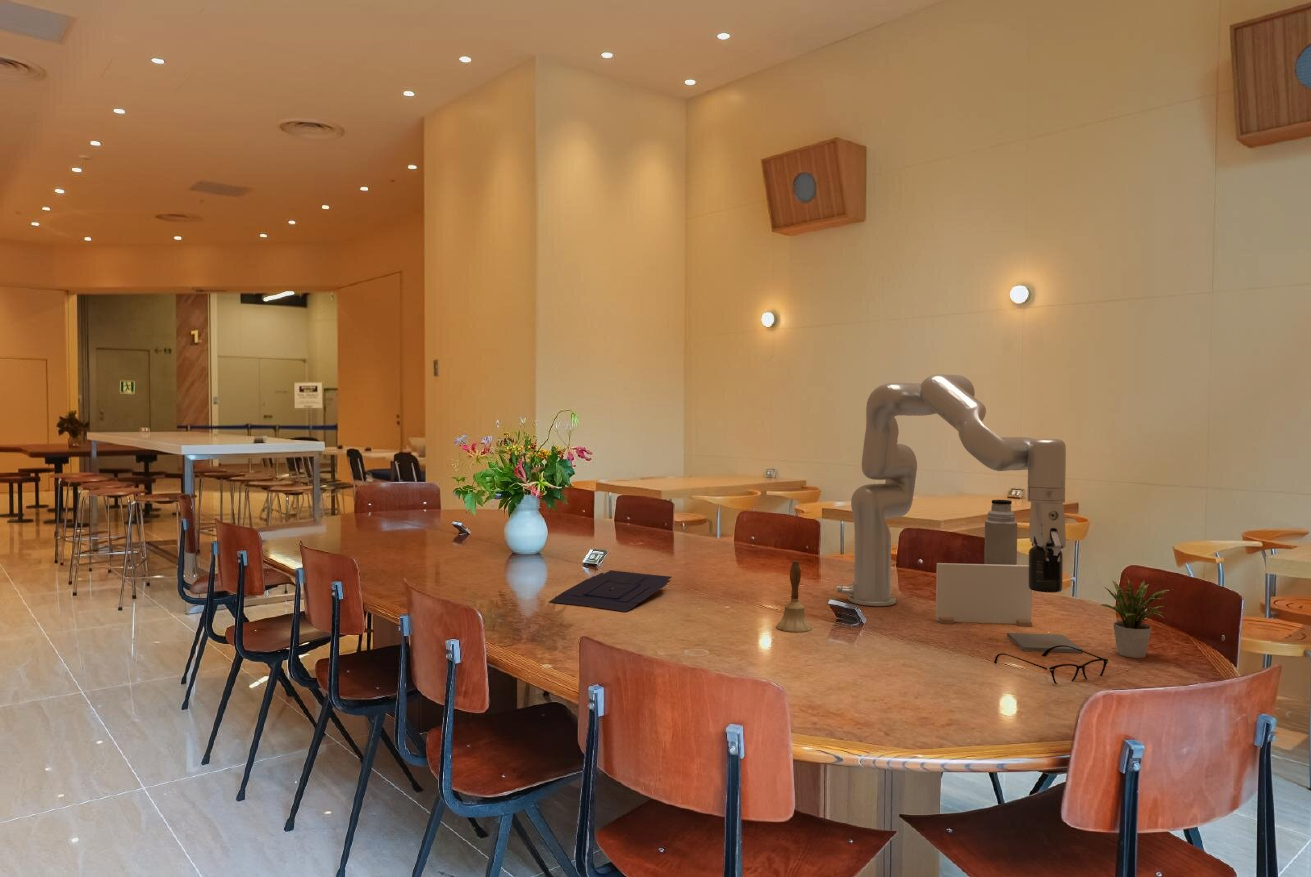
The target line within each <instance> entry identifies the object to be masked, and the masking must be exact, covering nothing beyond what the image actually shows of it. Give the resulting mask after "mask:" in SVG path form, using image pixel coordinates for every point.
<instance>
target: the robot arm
mask: <svg viewBox="0 0 1311 877" xmlns="http://www.w3.org/2000/svg"><path fill="white" fill-rule="evenodd" d="M975 393H976V392H975V387H974V385H973V382H972V381H971V380H970V379H968V378H967V377H965V376H963V375H960V374H943V373H942V374H939V373H937V374H932V375H929V376H928V377H926V378H925V379H924V380H922V382H921V383H916V382H915V383H913V382H889V383H884V384H881V385H879V386H877V387H875V389H873V391H872V392H870V394H869V396H868V398H867V401H866V409H865V416H866V417H865V420H866V422H865V426H866V427H865V433H864V440H863V447H862V448H863V449H862V454H861V455H862V456H861V472H862V473H863V476H864V477H866V478H868V479H870V480H874V481H875V480H877V481H879V480H881V481H883V480H884V481H885V482H884V483H873V484H872V483H871V484H870V483H869V484H865V485H862V486H859V487H858V488H857V489H856V490H855V491H854V492H853V493H852V496H851V500H850V506H851V512H852V517H853V518H852V519H853V526H854V527H853V528H854V566H853V567H854V572H853V573H854V576H853V577H854V580H853V581H852V582H851V584H848V585H836V593H841V594H845V595H846V594H847V595H848V597H847V600H848V601H849V602H851V603H852V604H855V605H859V606H860V605H861V606H866V607H867V606H870V607H887V606H892V605H895V604H897V597H895V596H894V595H891V587H892V586H891V578H892V577H891V576H892V574H891V572H892V571H891V570H892V534H891V531H890V527H889V526H888V523H887V520H888V519H895V518H902V517H904V516H905V515H907V514H908V513H909V511H910V510H911V508H912V506H913V501H914V495H915V494H914V493H915V487H916V478H917V471H918V463H917V462H918V461H917V456H916V454H915V452H914V451H913V449H912V448H911V447H909V446H908V445H906V444H903V443H898V439H899V425H898V422H897V419H896V417H897V416H910V417H912V416H913V417H915V416H916V417H917V416H918V417H922V416H932V415H937V416H939V417H941V419H943V420H944V421H945V422H947V423H948V424H949V425H950V426H951V427H952V428H954V429H955V430H956V431H957V432H958V437H959V440H960V442H961V444H962V445H963V447H964V449H965V450H966V451H967V452H968V453H969V454H970V455H971V456H973V457H974V458H975V459H976V460H977V461H978V462H980V463H981V464H982V465H983V466H985V467H987V468H988V469H990V470H993V471H995V472H1006V471H1026V470H1027V502H1028V503H1030V509H1029V510H1030V511H1029V526H1028V527H1029V529H1028V530H1029V531H1028V534H1029V541H1030V542H1031V548H1032V547H1034V546H1035V544H1034V543H1033V541H1034V537H1036V542H1037V544H1038V546H1039V547H1041V548H1043V550H1044V557H1045V561H1043V579H1045V580H1059V563H1060V556H1059V555H1060V550H1061V549H1063V550H1064V549H1065V547H1066V546H1067V545H1066V544H1067V540H1066V516H1065V515H1066V514H1065V509H1064V504H1065V503H1066V467H1067V464H1066V462H1067V461H1066V459H1067V457H1066V456H1067V454H1066V453H1067V447H1066V443H1065V442H1064V441H1063V440H1062V439H1058V438H1031V437H1026V436H1006V437H1001V436H1000V435H998V434H996V433H995V432H994V431H993V430H991V429H990V428H989V427H987V426H986V425H985V424H984V423H983V421H984V420H985V416H986V414H987V408H986V406H985V404H984V403H982V402H981V401H980V400H978V399H977V398H976V397H975ZM886 519H887V520H886ZM1047 545H1053V546H1047ZM1048 550H1049V551H1050V552H1049V554H1048ZM1061 551H1062V550H1061Z"/></svg>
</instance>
